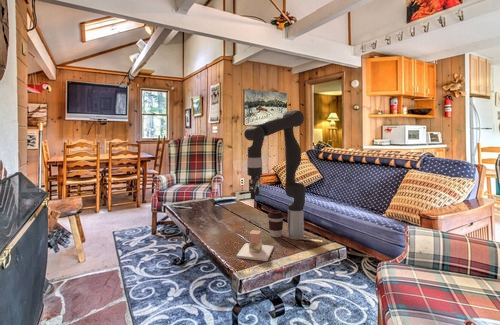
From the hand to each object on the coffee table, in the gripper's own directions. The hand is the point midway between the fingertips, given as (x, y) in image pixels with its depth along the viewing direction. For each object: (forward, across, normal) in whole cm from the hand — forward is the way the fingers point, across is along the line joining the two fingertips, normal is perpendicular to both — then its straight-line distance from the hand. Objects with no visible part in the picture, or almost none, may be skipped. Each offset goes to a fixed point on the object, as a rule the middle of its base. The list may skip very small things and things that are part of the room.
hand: (255, 197), depth 141 cm
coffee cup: (+30, +27, -6) cm, 41 cm away
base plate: (+30, 0, 0) cm, 30 cm away
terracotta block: (+24, 0, 0) cm, 24 cm away
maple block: (+29, 0, 0) cm, 29 cm away
